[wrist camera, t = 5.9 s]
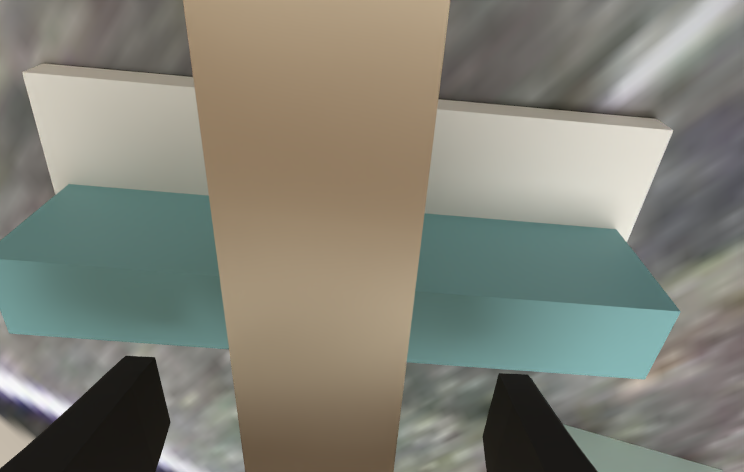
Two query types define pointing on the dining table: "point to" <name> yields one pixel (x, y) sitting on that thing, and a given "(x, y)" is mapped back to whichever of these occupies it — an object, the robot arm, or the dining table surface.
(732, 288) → the dining table surface
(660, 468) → the l-shaped corner panel
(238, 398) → the beech bar
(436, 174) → the stand
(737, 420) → the dining table surface
